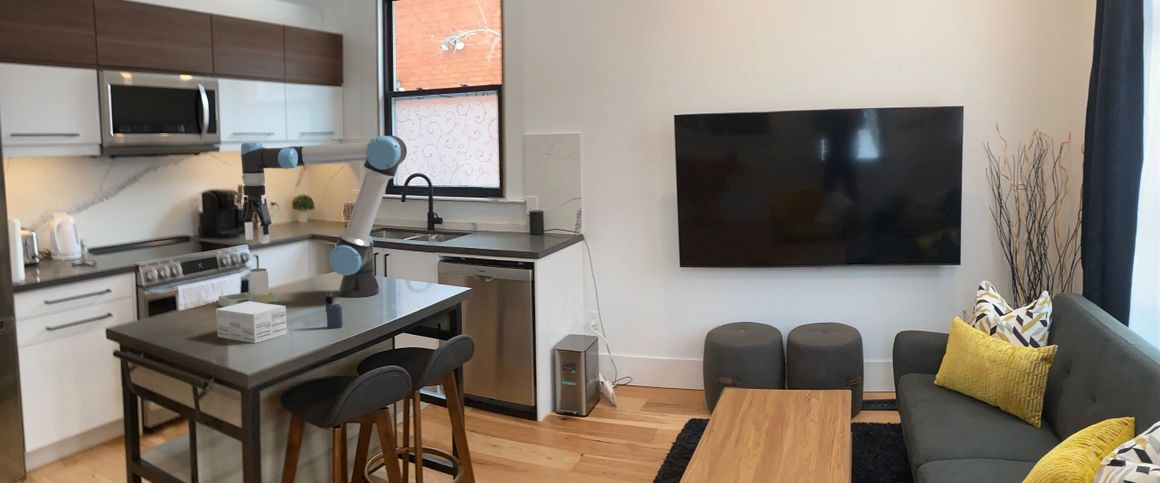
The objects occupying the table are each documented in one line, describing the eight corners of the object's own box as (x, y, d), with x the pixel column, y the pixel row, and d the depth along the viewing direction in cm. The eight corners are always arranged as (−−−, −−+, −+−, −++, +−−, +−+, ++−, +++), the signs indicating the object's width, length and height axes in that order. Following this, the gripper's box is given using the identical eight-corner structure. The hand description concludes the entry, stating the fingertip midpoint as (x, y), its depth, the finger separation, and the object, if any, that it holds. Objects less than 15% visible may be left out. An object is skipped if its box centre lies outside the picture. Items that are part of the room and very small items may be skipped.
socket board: (278, 301, 305) (278, 293, 305) (230, 309, 293) (229, 300, 292) (266, 297, 313) (266, 289, 312) (219, 304, 300) (218, 296, 299)
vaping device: (327, 326, 269) (325, 291, 267) (343, 326, 270) (342, 290, 268) (325, 328, 267) (324, 292, 265) (342, 328, 267) (340, 292, 265)
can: (272, 299, 309) (271, 268, 307) (264, 303, 302) (262, 271, 300) (256, 298, 309) (254, 268, 307) (247, 302, 303) (245, 271, 301)
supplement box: (288, 334, 260) (286, 305, 259) (255, 344, 249) (253, 314, 247) (250, 327, 268) (249, 300, 266) (217, 337, 256) (215, 308, 255)
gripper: (229, 183, 305) (233, 238, 309) (258, 187, 288) (262, 246, 291) (249, 182, 311) (252, 236, 314) (279, 185, 293) (282, 243, 297)
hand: (257, 241), depth 303 cm, fingers open, 13 cm apart
